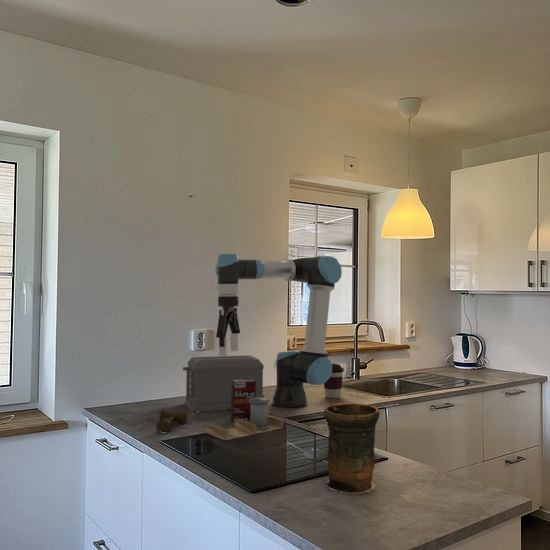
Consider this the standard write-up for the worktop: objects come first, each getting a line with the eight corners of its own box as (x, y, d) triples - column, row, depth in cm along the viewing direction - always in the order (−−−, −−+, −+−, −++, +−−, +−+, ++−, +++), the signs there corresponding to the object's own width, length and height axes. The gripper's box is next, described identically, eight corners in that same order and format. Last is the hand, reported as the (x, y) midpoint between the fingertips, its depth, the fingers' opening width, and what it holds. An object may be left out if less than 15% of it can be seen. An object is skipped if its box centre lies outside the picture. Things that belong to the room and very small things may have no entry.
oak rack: (263, 424, 207) (263, 413, 207) (282, 430, 199) (282, 419, 199) (206, 436, 191) (206, 424, 191) (225, 443, 183) (225, 430, 183)
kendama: (148, 435, 194) (165, 419, 214) (176, 436, 193) (190, 421, 213) (149, 418, 194) (165, 404, 214) (176, 419, 193) (190, 405, 213)
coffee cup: (343, 395, 264) (343, 363, 265) (343, 399, 255) (344, 366, 255) (322, 394, 265) (322, 362, 266) (321, 398, 256) (322, 365, 256)
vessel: (391, 484, 146) (390, 407, 146) (360, 500, 135) (359, 418, 135) (345, 471, 155) (344, 399, 155) (313, 486, 145) (312, 409, 145)
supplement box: (233, 425, 206) (233, 381, 207) (230, 421, 211) (230, 379, 211) (255, 423, 209) (256, 380, 209) (252, 420, 213) (253, 378, 214)
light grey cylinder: (260, 424, 204) (260, 396, 204) (273, 428, 198) (273, 399, 199) (244, 427, 199) (244, 399, 199) (257, 431, 194) (257, 402, 194)
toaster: (179, 403, 243) (180, 356, 244) (254, 399, 253) (255, 354, 254) (185, 413, 226) (186, 362, 226) (266, 408, 236) (266, 359, 236)
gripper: (229, 294, 219) (229, 348, 219) (206, 296, 195) (207, 357, 195) (247, 294, 218) (247, 349, 218) (227, 296, 193) (228, 358, 193)
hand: (228, 353), depth 206 cm, fingers open, 13 cm apart
